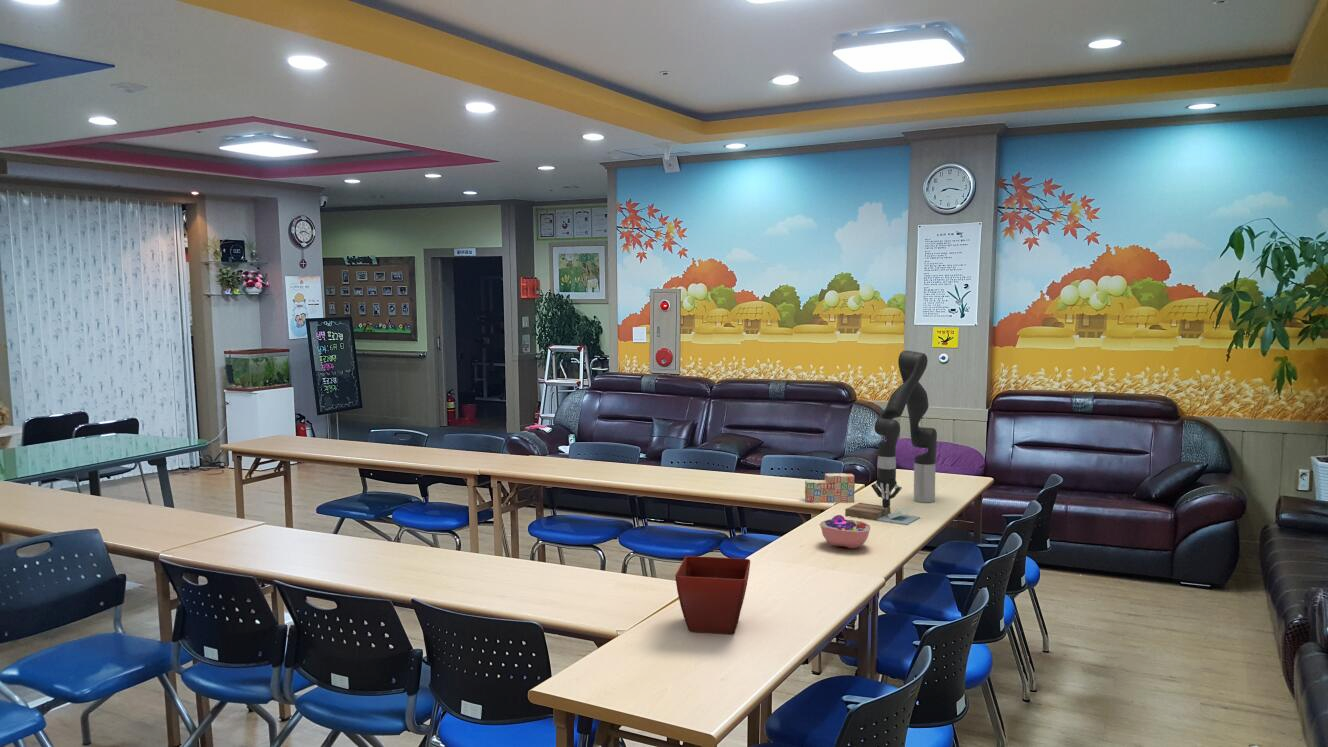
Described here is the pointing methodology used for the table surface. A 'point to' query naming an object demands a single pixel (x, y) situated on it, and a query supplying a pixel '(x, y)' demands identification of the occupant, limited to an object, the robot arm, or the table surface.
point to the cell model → (845, 532)
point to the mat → (899, 519)
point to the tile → (898, 513)
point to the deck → (867, 511)
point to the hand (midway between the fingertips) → (886, 507)
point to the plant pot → (712, 592)
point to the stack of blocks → (831, 489)
